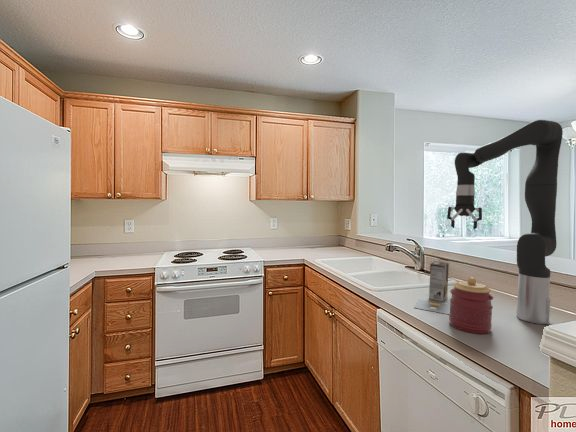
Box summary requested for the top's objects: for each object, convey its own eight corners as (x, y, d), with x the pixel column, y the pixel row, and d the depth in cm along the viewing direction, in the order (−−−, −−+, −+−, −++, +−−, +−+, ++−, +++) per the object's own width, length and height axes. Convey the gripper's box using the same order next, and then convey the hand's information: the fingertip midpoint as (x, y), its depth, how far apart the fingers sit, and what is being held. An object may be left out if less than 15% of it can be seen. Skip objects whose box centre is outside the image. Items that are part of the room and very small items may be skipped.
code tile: (453, 305, 128) (453, 304, 128) (452, 315, 116) (452, 314, 116) (418, 299, 135) (418, 298, 135) (413, 308, 123) (413, 307, 123)
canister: (501, 333, 100) (504, 281, 99) (468, 336, 97) (471, 283, 97) (470, 318, 113) (472, 272, 112) (440, 320, 110) (442, 273, 109)
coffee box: (432, 293, 144) (434, 261, 143) (447, 296, 140) (449, 262, 139) (428, 298, 136) (429, 263, 136) (443, 301, 132) (445, 265, 132)
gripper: (482, 195, 140) (481, 229, 141) (448, 195, 148) (447, 227, 148) (483, 194, 134) (481, 230, 134) (447, 194, 141) (446, 228, 142)
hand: (463, 228), depth 141 cm, fingers open, 8 cm apart
